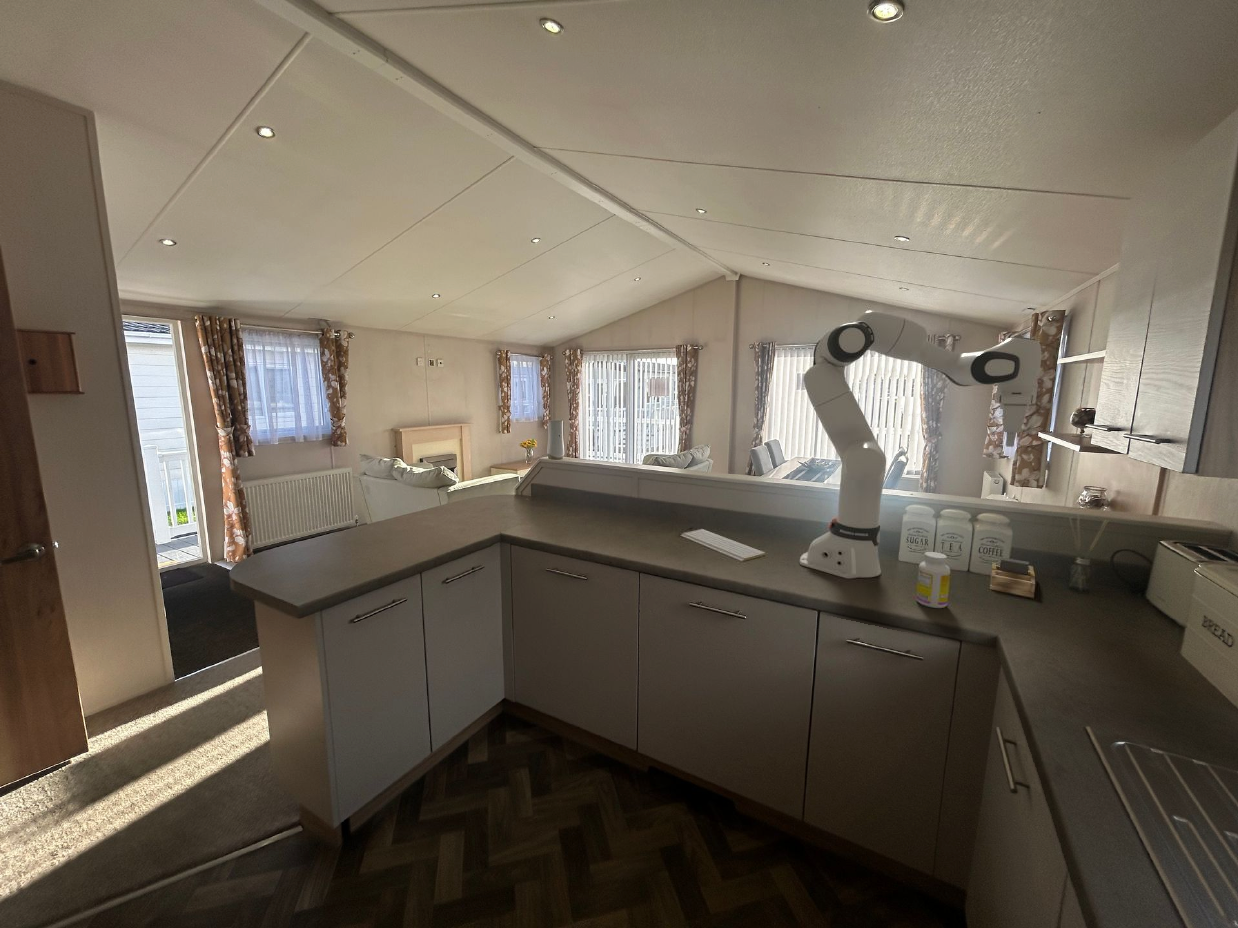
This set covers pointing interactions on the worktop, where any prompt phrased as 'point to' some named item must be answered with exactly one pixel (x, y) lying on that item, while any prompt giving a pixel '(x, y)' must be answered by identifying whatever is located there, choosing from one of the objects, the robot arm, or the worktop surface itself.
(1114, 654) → the worktop surface
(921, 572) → the supplement bottle
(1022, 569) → the panel
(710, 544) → the white keyboard
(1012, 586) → the box
